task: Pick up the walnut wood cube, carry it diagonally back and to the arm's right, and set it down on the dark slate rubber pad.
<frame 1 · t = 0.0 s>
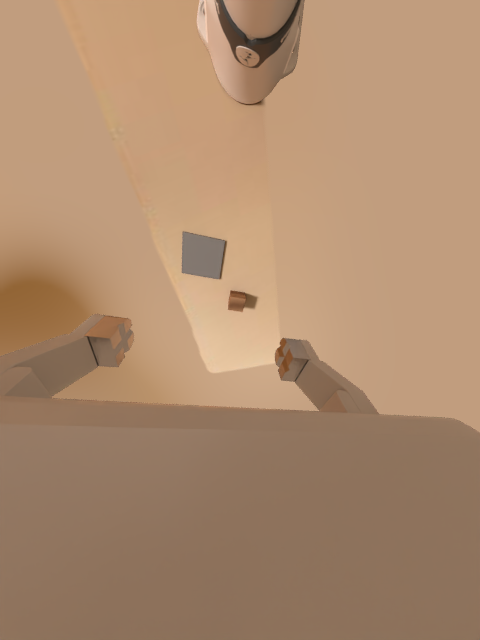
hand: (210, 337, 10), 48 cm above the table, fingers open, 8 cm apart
walnut cube: (236, 297, 62), on the table
slate pad: (202, 257, 53), on the table
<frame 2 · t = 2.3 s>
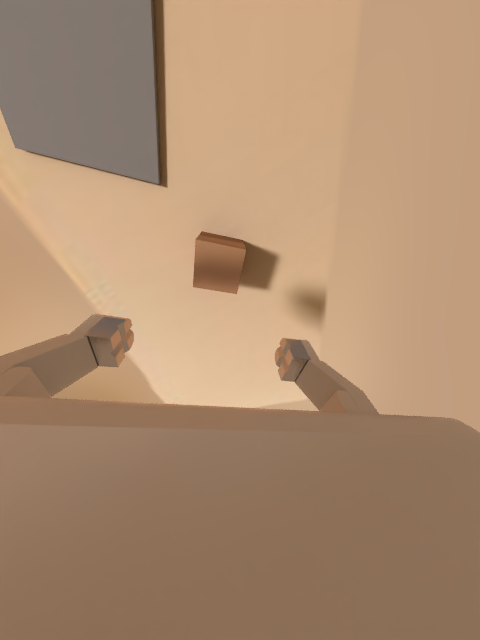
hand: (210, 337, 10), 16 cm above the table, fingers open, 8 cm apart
walnut cube: (219, 256, 22), on the table
slate pad: (75, 68, 13), on the table
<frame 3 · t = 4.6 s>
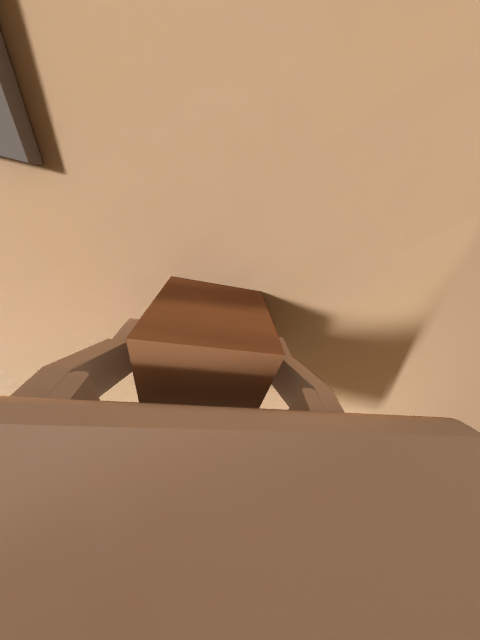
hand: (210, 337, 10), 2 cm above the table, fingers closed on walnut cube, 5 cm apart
walnut cube: (212, 320, 11), on the table, touching gripper
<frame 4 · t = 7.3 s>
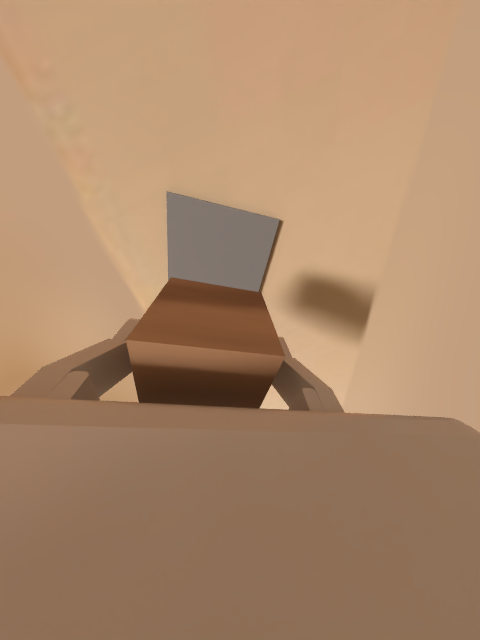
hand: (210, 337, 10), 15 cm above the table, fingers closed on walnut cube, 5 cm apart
walnut cube: (212, 321, 11), point 13 cm above the table, touching gripper
slate pad: (218, 261, 22), on the table
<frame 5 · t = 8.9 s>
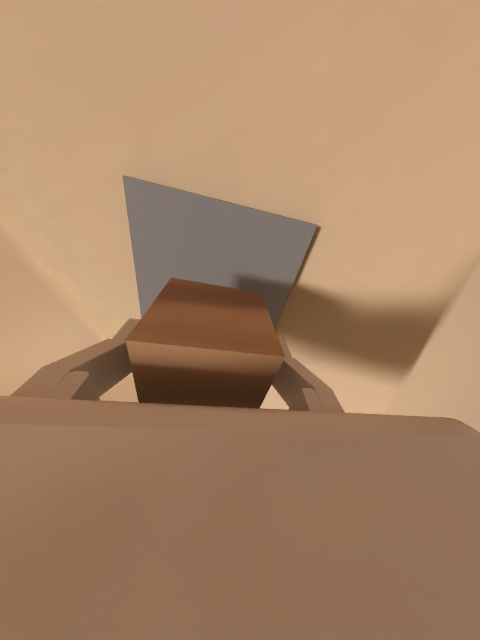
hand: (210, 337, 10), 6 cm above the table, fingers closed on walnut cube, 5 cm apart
walnut cube: (212, 321, 11), point 4 cm above the table, touching gripper
slate pad: (216, 287, 14), on the table
when the fingers open (3 cm above the table, at t = 10.3 s): walnut cube drops 1 cm, resting on slate pad.
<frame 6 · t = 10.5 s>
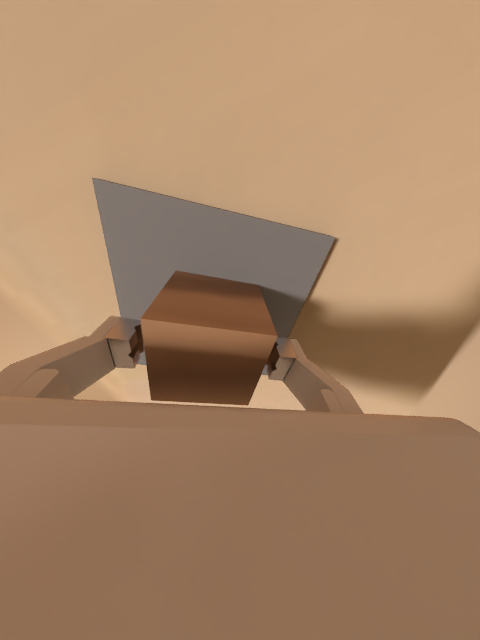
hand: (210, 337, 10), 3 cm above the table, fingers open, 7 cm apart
walnut cube: (213, 312, 12), point 1 cm above the table, touching slate pad
slate pad: (213, 308, 12), on the table
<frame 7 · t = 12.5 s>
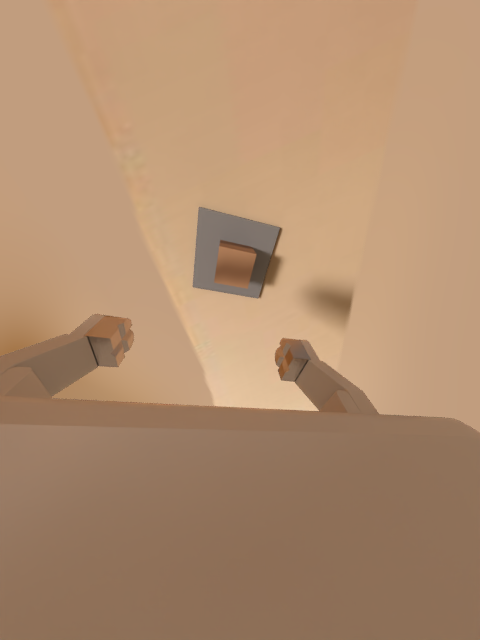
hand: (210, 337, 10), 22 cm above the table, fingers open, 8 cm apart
walnut cube: (233, 259, 28), point 1 cm above the table, touching slate pad
slate pad: (232, 258, 28), on the table
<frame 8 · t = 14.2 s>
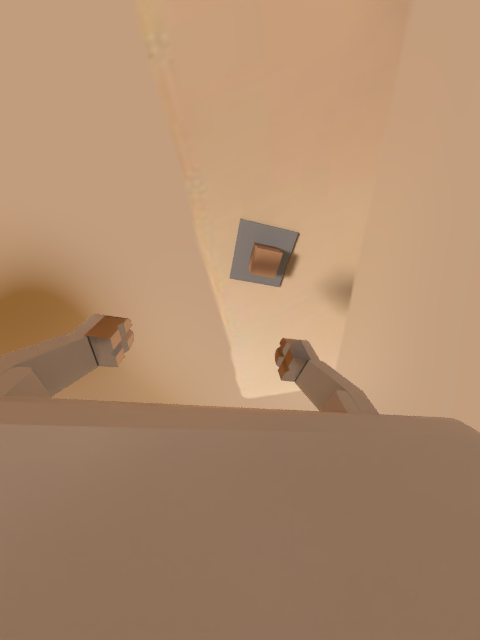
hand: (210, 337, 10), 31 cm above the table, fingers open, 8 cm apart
walnut cube: (262, 256, 37), point 1 cm above the table, touching slate pad
slate pad: (261, 256, 38), on the table
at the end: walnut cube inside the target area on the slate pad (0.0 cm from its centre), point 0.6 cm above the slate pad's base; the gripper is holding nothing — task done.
